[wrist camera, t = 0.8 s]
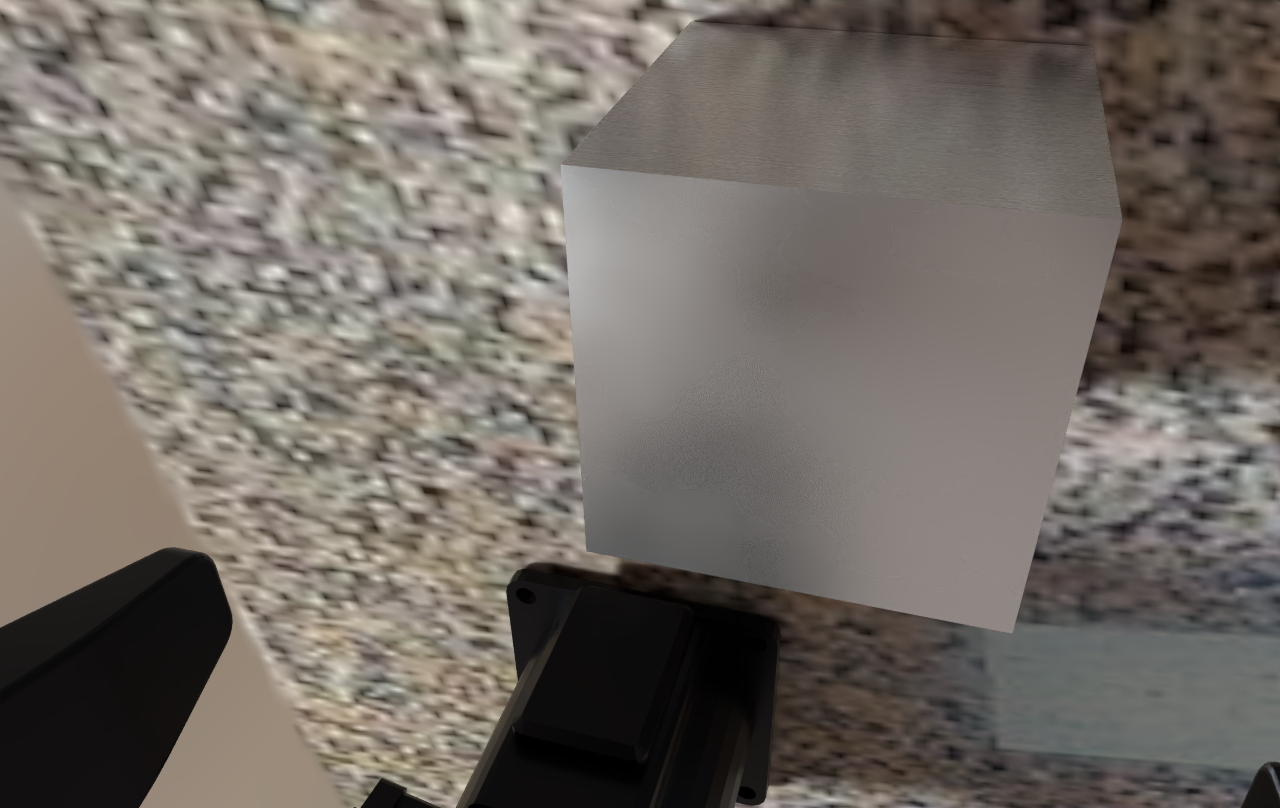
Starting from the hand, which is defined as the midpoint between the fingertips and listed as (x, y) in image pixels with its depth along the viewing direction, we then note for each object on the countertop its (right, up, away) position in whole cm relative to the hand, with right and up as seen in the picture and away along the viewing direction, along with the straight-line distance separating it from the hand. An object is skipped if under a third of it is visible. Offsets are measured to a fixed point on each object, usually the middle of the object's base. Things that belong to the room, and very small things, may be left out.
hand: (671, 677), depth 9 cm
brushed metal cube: (+3, +6, +9) cm, 11 cm away
